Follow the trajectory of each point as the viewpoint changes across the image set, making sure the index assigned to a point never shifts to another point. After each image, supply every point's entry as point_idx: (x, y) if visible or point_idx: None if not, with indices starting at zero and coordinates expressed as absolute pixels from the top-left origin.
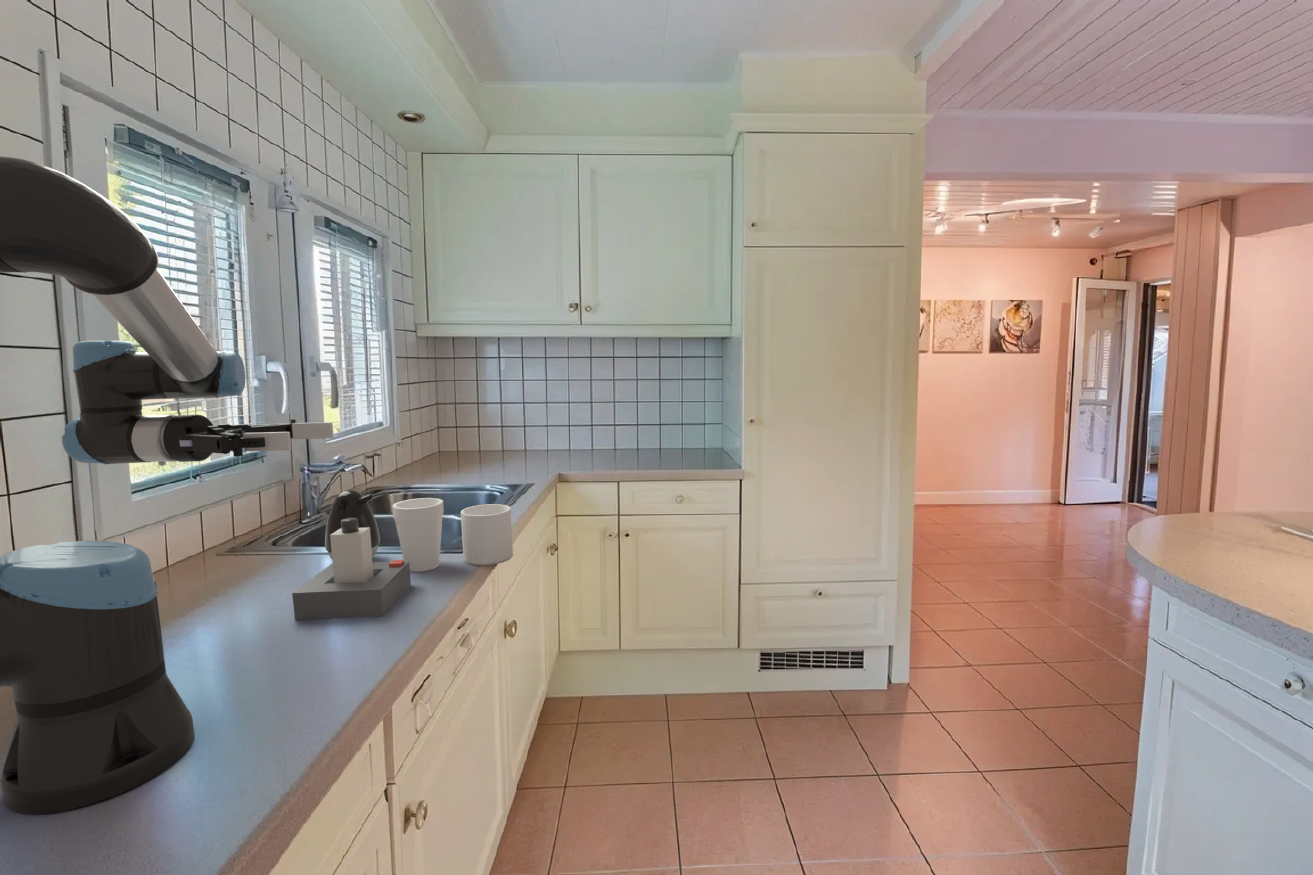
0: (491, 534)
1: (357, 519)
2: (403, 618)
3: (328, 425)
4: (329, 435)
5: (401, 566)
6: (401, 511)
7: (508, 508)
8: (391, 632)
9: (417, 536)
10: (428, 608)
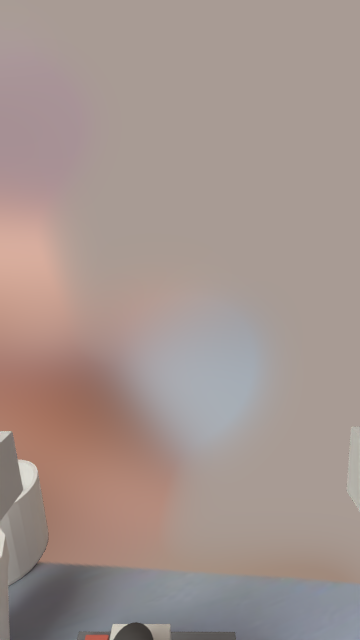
0: (41, 500)
1: (133, 623)
2: (243, 622)
3: (8, 447)
4: (17, 485)
5: (109, 637)
6: None
7: None
8: (294, 624)
9: (4, 610)
10: (206, 592)
